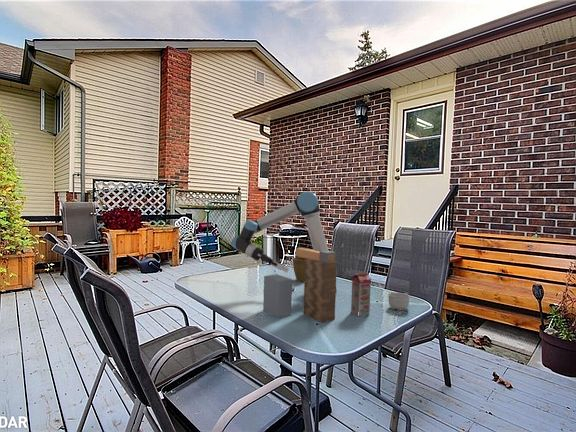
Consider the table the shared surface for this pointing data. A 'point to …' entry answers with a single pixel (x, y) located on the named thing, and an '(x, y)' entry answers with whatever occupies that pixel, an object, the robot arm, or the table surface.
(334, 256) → the brown block
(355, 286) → the juice carton
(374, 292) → the table surface
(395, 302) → the teacup
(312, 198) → the robot arm
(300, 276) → the plant pot
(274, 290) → the grey stand
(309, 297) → the walnut stand
